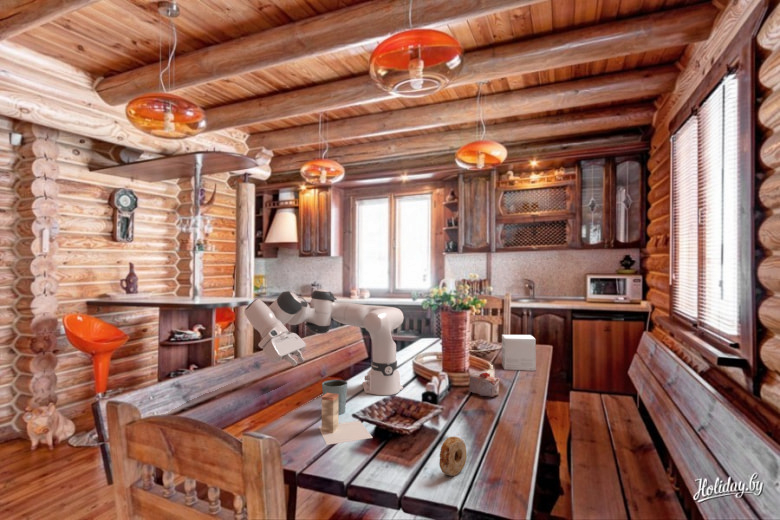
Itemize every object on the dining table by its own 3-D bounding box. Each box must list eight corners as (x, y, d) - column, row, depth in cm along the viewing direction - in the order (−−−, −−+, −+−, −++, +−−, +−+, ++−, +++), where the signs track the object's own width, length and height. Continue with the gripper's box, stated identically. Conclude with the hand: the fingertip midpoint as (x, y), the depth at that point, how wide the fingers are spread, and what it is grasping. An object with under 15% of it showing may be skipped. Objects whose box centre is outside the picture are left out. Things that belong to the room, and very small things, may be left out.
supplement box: (531, 365, 241) (531, 334, 241) (536, 371, 228) (536, 338, 228) (501, 364, 243) (501, 333, 244) (504, 370, 230) (504, 338, 230)
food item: (502, 395, 187) (502, 373, 187) (494, 399, 181) (494, 377, 181) (475, 389, 196) (475, 368, 196) (467, 393, 190) (467, 372, 190)
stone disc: (448, 482, 113) (448, 446, 113) (437, 477, 116) (437, 442, 116) (469, 468, 121) (469, 435, 121) (458, 464, 123) (458, 431, 123)
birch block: (321, 431, 146) (321, 396, 146) (327, 426, 150) (327, 392, 150) (333, 433, 144) (333, 397, 144) (338, 428, 149) (338, 394, 149)
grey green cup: (319, 417, 160) (319, 386, 160) (324, 407, 170) (324, 379, 170) (345, 417, 160) (345, 386, 160) (348, 408, 170) (348, 379, 170)
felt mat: (318, 427, 150) (318, 426, 150) (360, 421, 156) (360, 420, 156) (326, 445, 135) (326, 444, 135) (372, 438, 141) (372, 437, 141)
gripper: (285, 336, 164) (307, 362, 161) (255, 346, 144) (279, 376, 142) (295, 325, 163) (318, 351, 160) (266, 334, 143) (290, 364, 140)
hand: (299, 363), depth 151 cm, fingers open, 3 cm apart
